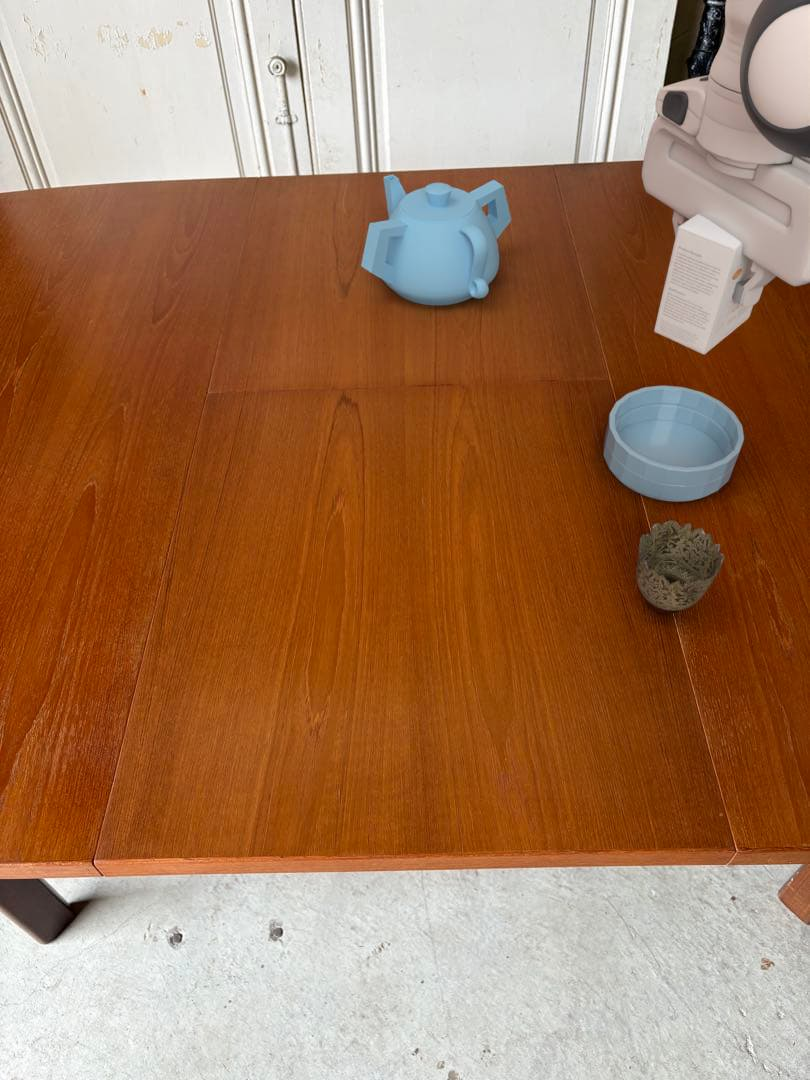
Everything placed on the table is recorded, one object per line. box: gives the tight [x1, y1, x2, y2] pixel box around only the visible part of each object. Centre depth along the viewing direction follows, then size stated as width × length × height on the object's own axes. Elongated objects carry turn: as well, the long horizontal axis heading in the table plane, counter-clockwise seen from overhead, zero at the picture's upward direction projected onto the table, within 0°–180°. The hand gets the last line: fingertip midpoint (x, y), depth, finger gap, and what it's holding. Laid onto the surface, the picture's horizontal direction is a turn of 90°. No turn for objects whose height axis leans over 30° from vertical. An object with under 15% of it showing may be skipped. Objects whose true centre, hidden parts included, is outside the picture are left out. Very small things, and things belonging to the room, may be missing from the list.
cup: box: [636, 519, 725, 616], centre depth 77 cm, size 8×7×8 cm
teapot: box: [360, 173, 512, 306], centre depth 116 cm, size 19×19×14 cm
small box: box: [653, 214, 755, 355], centre depth 72 cm, size 8×6×10 cm
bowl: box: [602, 385, 745, 503], centre depth 92 cm, size 14×14×5 cm
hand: (713, 280), depth 73 cm, fingers closed on small box, 6 cm apart
